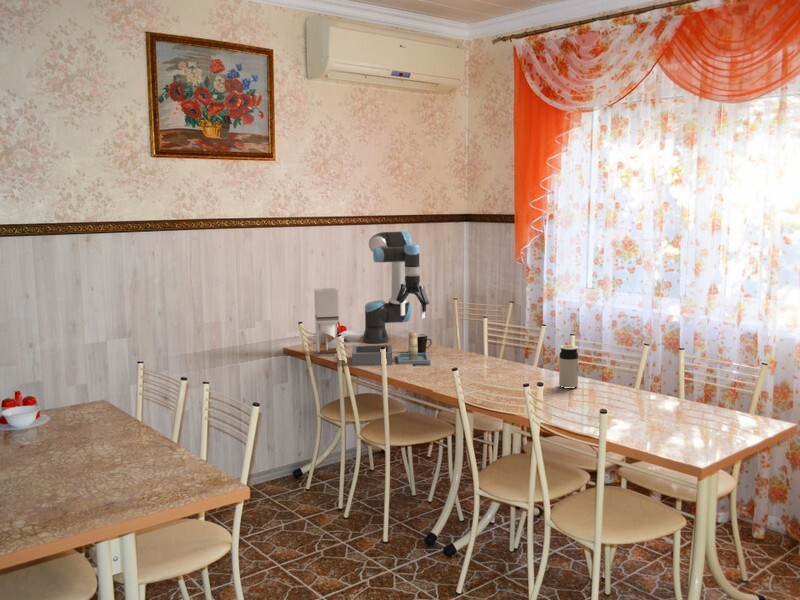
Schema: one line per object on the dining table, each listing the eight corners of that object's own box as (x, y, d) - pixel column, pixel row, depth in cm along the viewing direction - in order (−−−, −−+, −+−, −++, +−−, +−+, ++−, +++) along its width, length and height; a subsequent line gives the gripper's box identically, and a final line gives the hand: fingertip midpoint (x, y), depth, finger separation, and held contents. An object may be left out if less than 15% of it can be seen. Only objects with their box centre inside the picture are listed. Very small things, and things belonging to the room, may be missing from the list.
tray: (397, 358, 394) (397, 353, 393) (427, 357, 394) (427, 352, 394) (398, 366, 376) (398, 361, 375) (430, 365, 376) (430, 360, 376)
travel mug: (557, 388, 329) (557, 347, 326) (561, 384, 336) (561, 344, 334) (575, 390, 326) (576, 349, 323) (579, 385, 333) (580, 345, 330)
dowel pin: (408, 358, 387) (408, 332, 385) (417, 358, 387) (417, 331, 385) (409, 360, 383) (408, 333, 381) (417, 360, 383) (417, 333, 381)
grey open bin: (353, 358, 394) (352, 345, 393) (391, 357, 394) (391, 344, 393) (352, 367, 374) (351, 353, 373) (392, 366, 375) (392, 352, 374)
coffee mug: (408, 352, 406) (408, 334, 405) (423, 351, 410) (422, 333, 409) (418, 356, 396) (418, 338, 395) (433, 355, 400) (432, 336, 398)
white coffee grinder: (318, 356, 401) (316, 291, 396) (316, 352, 411) (314, 288, 406) (339, 355, 403) (337, 290, 398) (337, 351, 413) (335, 288, 408)
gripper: (389, 274, 384) (389, 315, 388) (426, 277, 368) (426, 320, 371) (399, 272, 390) (399, 313, 393) (436, 276, 373) (436, 318, 376)
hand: (412, 316), depth 382 cm, fingers open, 13 cm apart
